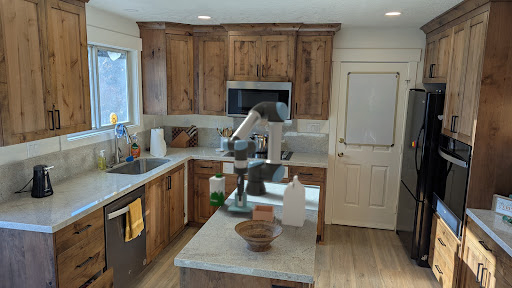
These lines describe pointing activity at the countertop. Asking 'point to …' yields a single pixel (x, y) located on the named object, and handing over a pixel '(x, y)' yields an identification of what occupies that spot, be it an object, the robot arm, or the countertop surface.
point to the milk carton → (217, 190)
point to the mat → (240, 214)
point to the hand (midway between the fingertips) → (240, 205)
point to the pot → (263, 212)
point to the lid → (244, 208)
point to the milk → (294, 204)
